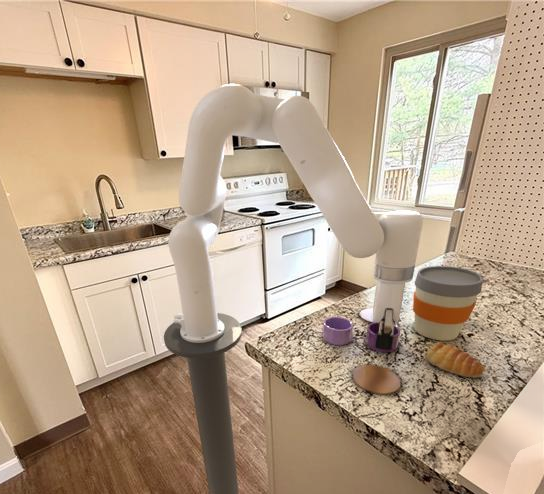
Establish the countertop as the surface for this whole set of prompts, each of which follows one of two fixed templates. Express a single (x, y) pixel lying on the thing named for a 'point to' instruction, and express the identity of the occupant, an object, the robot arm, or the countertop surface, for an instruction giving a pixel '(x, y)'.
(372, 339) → the plum dish
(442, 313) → the reusable coffee cup
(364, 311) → the far coaster
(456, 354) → the pastry
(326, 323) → the lavender dish
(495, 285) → the countertop surface
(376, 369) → the near coaster
